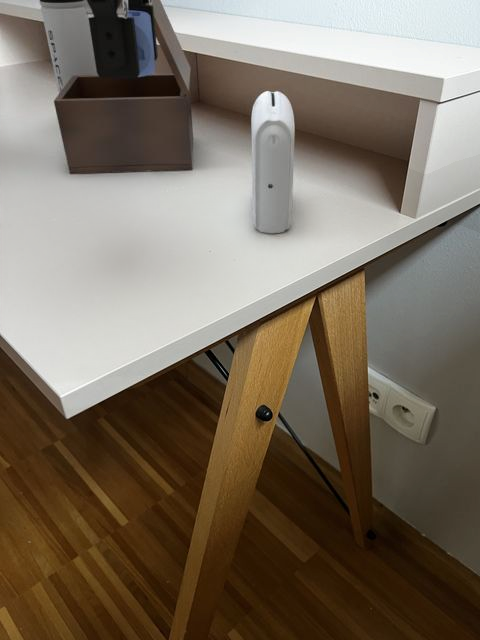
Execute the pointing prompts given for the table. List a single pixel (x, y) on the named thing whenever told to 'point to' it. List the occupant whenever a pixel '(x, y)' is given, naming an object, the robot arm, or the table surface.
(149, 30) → the decorative dice
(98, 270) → the table surface
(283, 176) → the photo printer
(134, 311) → the table surface
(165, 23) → the lid
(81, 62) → the travel mug
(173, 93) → the storage box
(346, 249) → the table surface
